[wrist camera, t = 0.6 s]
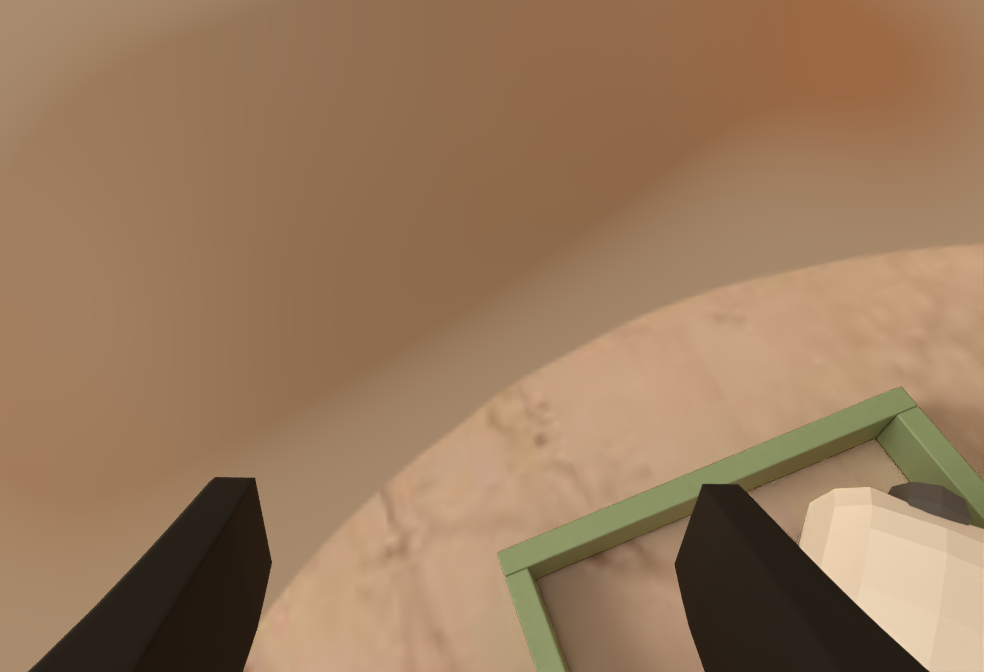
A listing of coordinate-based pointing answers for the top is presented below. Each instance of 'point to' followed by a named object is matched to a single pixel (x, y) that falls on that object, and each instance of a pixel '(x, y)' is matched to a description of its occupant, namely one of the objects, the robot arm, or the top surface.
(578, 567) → the top surface
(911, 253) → the top surface
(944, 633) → the giant panda
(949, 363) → the top surface
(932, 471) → the rim
